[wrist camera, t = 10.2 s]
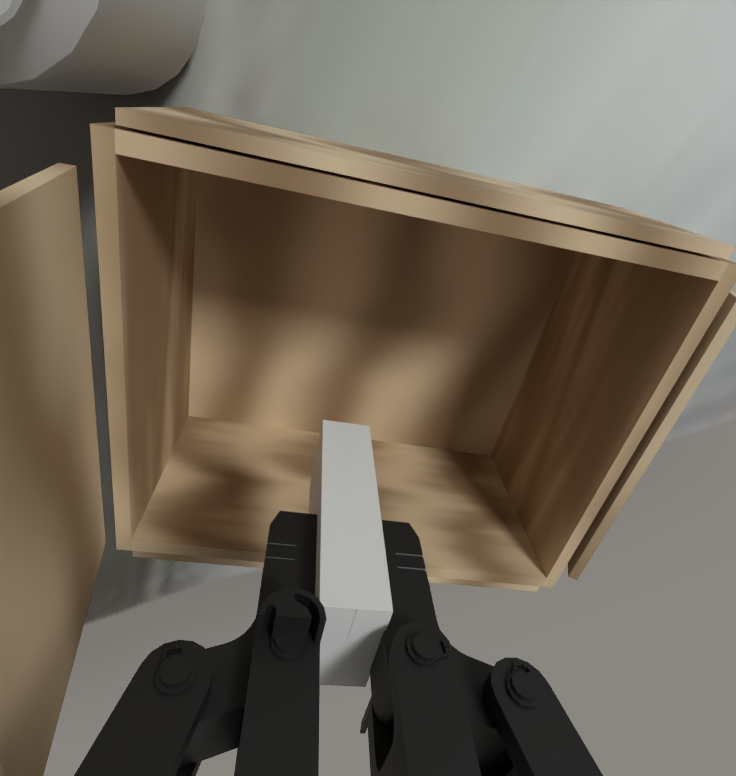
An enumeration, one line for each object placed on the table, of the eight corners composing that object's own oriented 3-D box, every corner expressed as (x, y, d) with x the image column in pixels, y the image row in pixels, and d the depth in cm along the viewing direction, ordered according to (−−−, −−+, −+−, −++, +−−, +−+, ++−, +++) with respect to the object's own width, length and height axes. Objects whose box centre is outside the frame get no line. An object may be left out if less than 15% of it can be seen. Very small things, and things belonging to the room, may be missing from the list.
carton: (180, 425, 29) (117, 559, 21) (188, 103, 21) (88, 101, 12) (490, 465, 32) (548, 595, 24) (602, 199, 24) (753, 251, 16)
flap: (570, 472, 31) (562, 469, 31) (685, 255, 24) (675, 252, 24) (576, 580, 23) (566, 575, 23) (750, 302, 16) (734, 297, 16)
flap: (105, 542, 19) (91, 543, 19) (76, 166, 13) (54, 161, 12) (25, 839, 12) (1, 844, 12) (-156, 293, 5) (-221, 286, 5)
